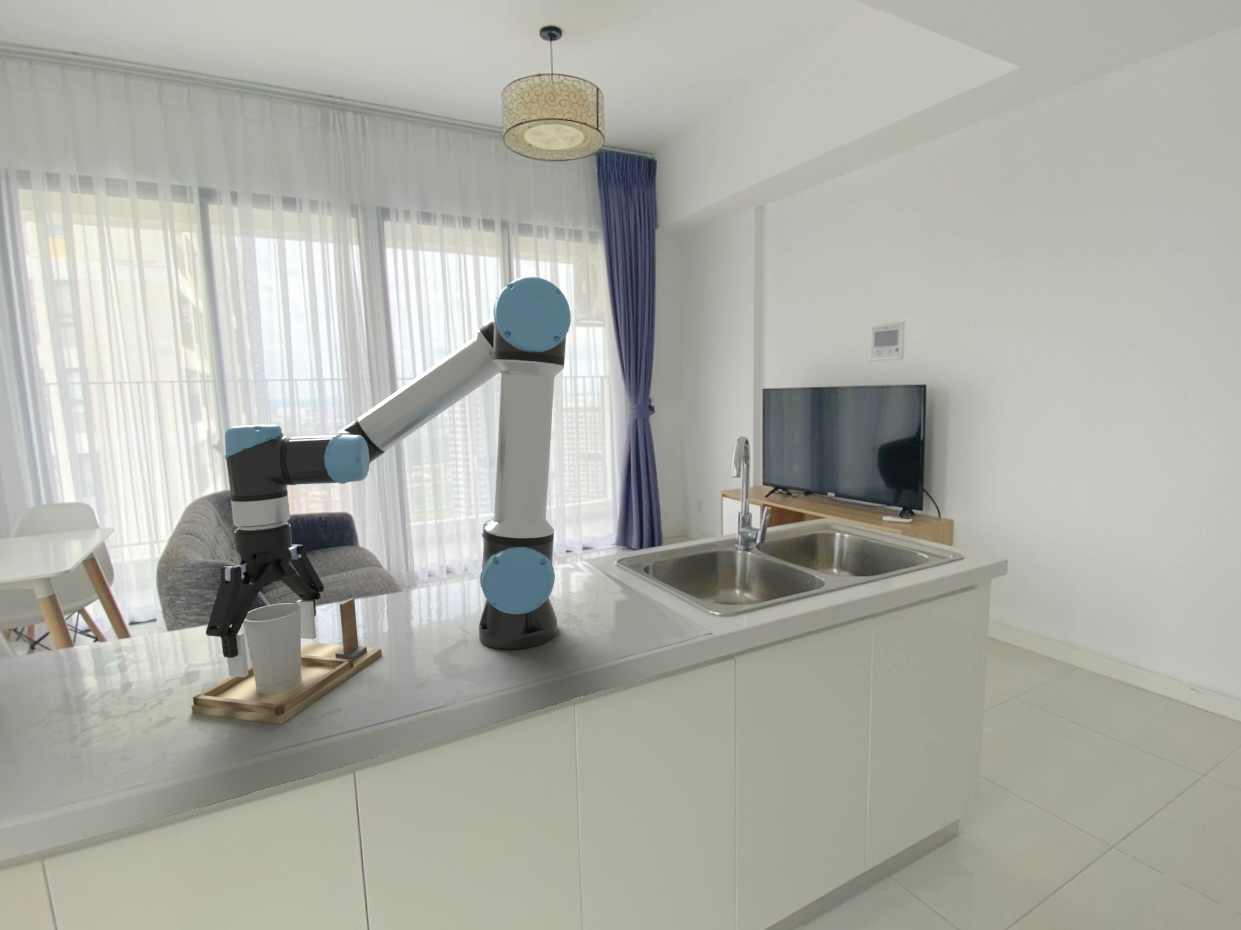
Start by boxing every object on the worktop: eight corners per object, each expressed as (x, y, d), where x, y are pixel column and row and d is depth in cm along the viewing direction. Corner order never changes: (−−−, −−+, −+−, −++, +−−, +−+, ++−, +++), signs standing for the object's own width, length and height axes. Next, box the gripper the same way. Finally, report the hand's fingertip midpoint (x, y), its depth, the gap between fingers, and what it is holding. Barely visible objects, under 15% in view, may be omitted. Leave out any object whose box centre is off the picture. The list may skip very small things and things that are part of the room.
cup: (281, 698, 89) (274, 623, 87) (237, 694, 90) (229, 620, 89) (318, 674, 96) (312, 604, 95) (276, 670, 98) (270, 602, 96)
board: (381, 654, 106) (377, 595, 104) (281, 724, 84) (273, 650, 82) (307, 648, 110) (302, 590, 108) (192, 712, 87) (183, 641, 86)
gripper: (303, 508, 103) (314, 623, 105) (163, 544, 79) (181, 692, 81) (339, 509, 101) (349, 626, 104) (208, 546, 77) (225, 697, 80)
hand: (275, 655), depth 92 cm, fingers open, 13 cm apart
